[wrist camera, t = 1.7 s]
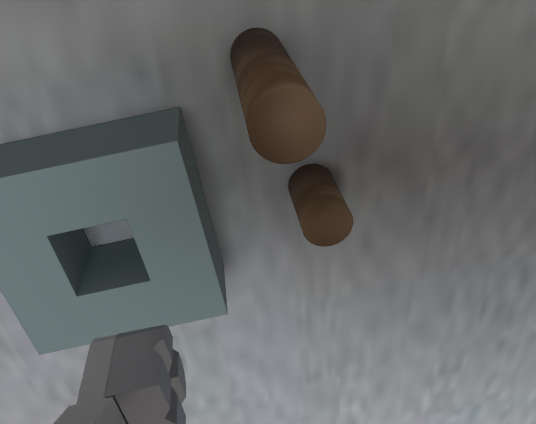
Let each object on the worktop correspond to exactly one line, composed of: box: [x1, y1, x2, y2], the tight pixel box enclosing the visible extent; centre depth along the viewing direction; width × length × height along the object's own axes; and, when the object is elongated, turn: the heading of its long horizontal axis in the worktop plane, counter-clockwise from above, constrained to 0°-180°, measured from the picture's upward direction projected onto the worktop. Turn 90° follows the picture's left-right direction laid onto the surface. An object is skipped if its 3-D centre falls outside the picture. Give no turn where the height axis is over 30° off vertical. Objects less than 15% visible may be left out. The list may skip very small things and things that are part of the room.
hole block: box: [0, 107, 228, 355], centre depth 30 cm, size 12×12×5 cm
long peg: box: [230, 28, 326, 164], centre depth 24 cm, size 3×3×11 cm
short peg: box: [288, 164, 353, 246], centre depth 31 cm, size 3×3×5 cm
